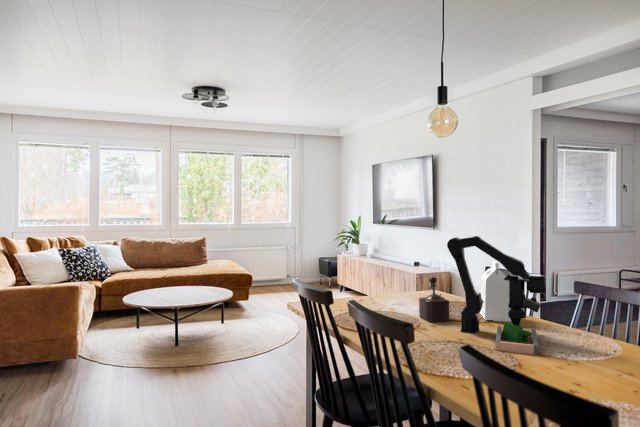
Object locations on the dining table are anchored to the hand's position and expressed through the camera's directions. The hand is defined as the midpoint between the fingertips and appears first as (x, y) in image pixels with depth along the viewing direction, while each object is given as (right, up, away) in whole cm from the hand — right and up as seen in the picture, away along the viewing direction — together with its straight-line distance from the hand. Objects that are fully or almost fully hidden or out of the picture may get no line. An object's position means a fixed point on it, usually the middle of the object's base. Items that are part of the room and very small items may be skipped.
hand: (516, 330), depth 182 cm
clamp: (-3, -3, -7) cm, 8 cm away
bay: (-4, -2, -10) cm, 11 cm away
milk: (+2, -2, +29) cm, 29 cm away
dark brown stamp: (-27, -2, +29) cm, 40 cm away
